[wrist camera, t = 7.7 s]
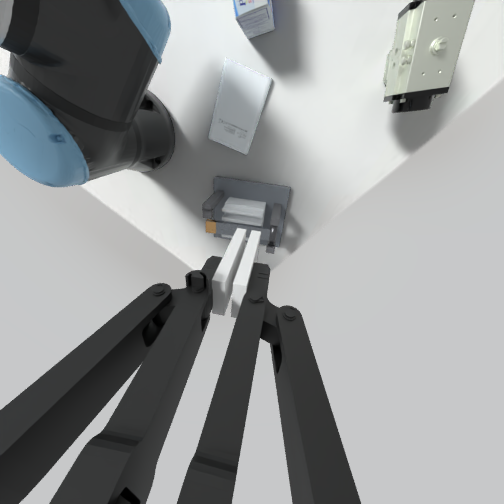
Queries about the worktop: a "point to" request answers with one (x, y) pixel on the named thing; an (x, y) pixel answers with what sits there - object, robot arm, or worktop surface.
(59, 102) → the robot arm
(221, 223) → the lever
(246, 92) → the external hard drive
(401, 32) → the pneumatic valve
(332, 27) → the worktop surface
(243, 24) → the medicine box
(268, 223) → the heatsink base
